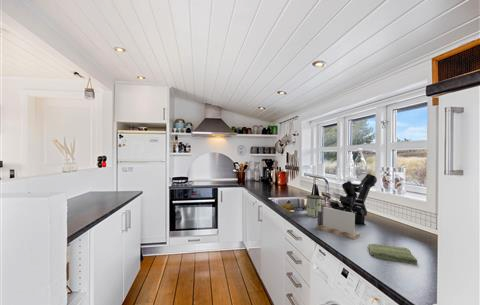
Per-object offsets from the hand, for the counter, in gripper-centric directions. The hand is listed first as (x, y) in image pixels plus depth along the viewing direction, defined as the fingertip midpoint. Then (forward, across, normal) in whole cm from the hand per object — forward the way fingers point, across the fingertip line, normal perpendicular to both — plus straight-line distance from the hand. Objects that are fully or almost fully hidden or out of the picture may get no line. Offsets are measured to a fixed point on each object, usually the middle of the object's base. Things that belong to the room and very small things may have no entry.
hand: (341, 219), depth 134 cm
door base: (+8, -1, +2) cm, 8 cm away
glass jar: (-8, -29, +17) cm, 35 cm away
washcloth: (+15, +29, -4) cm, 33 cm away
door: (+6, -1, +1) cm, 6 cm away
